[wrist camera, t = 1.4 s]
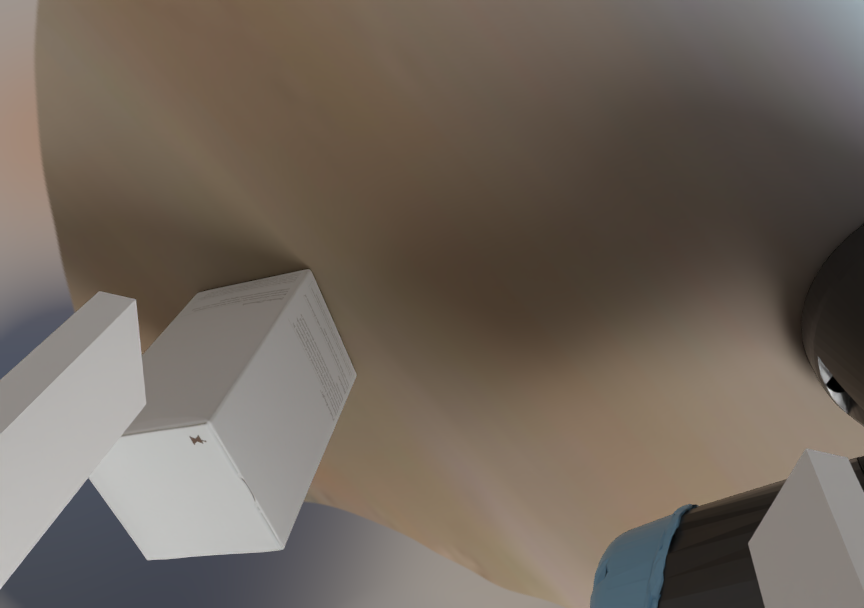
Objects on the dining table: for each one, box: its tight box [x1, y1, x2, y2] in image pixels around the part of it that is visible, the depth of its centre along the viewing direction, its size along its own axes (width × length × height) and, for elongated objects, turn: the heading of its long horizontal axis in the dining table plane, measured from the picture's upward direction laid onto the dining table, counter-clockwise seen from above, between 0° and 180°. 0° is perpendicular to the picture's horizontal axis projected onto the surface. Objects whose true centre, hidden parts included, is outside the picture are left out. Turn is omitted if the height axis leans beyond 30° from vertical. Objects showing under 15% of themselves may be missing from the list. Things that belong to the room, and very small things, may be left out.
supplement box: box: [88, 269, 357, 560], centre depth 42 cm, size 9×9×15 cm
